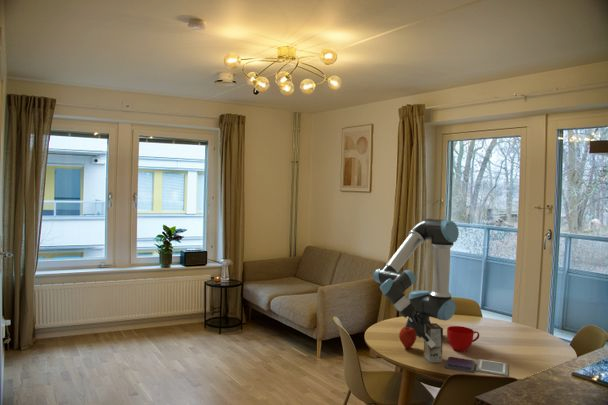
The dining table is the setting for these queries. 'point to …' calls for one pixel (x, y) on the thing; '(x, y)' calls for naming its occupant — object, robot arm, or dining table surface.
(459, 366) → the ink pad
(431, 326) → the coffee box
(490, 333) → the dining table surface
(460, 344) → the ceramic cup
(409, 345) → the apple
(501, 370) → the marked board
